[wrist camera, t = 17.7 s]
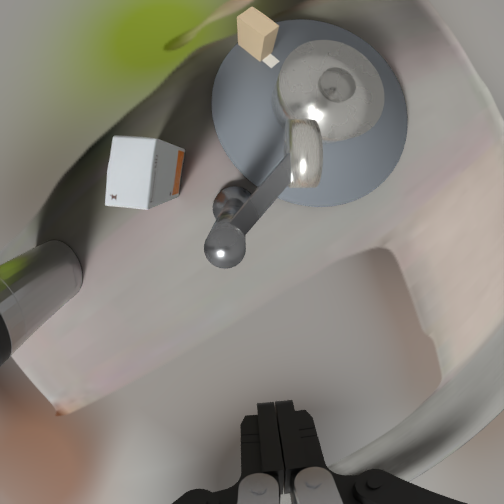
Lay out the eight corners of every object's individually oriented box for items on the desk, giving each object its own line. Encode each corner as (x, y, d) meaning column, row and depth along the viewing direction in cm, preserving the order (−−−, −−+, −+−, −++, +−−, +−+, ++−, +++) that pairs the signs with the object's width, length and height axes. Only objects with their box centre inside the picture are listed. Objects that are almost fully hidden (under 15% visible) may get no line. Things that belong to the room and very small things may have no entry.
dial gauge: (214, 229, 34) (186, 291, 17) (210, 145, 32) (172, 119, 14) (282, 226, 35) (321, 285, 17) (280, 142, 32) (321, 113, 14)
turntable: (313, 244, 35) (334, 268, 27) (171, 109, 30) (149, 92, 21) (429, 125, 31) (469, 119, 22) (307, -1, 25) (321, -36, 17)
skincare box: (179, 197, 33) (147, 212, 22) (147, 193, 33) (102, 207, 21) (187, 147, 32) (157, 137, 20) (153, 144, 31) (110, 135, 20)
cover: (318, 163, 31) (343, 161, 22) (252, 103, 28) (256, 80, 20) (371, 107, 29) (407, 93, 20) (310, 50, 26) (329, 18, 18)
